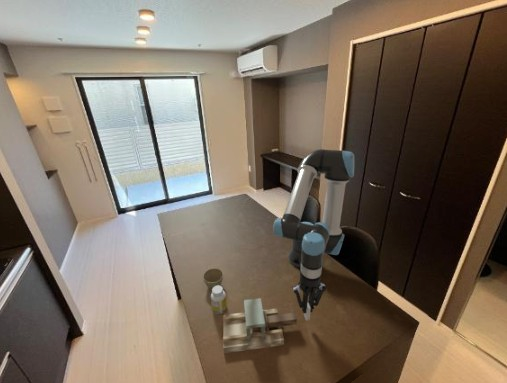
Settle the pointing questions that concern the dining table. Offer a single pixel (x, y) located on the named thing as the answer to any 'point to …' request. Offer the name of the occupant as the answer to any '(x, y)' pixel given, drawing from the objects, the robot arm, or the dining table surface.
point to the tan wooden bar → (277, 321)
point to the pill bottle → (218, 300)
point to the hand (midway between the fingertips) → (306, 317)
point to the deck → (249, 329)
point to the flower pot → (213, 277)
